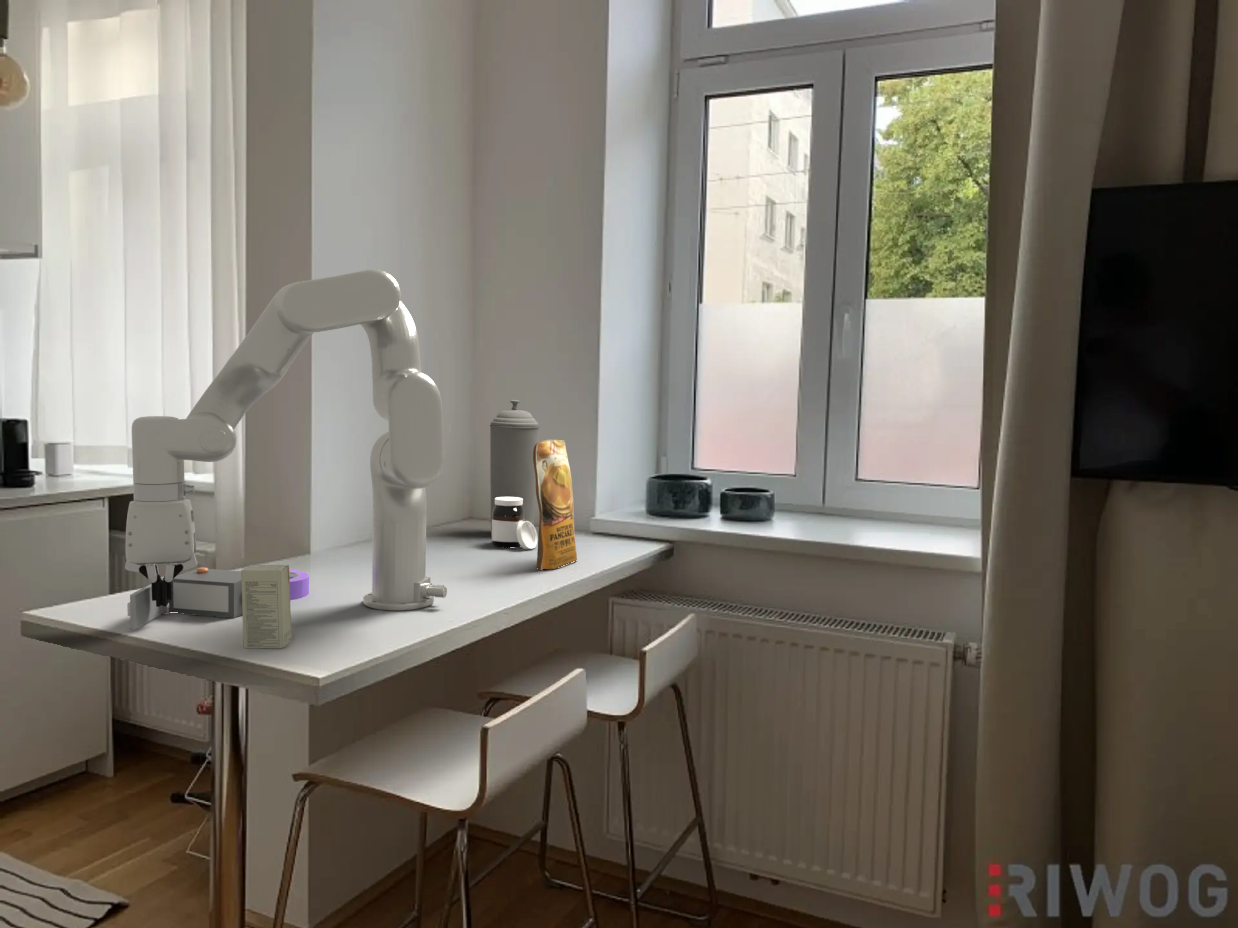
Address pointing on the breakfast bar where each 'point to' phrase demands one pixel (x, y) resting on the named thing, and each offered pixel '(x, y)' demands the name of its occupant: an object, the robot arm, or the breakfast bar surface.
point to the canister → (513, 458)
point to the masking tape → (298, 584)
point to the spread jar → (511, 524)
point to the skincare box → (266, 606)
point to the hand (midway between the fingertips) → (162, 604)
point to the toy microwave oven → (208, 593)
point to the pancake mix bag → (554, 505)
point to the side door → (143, 607)
